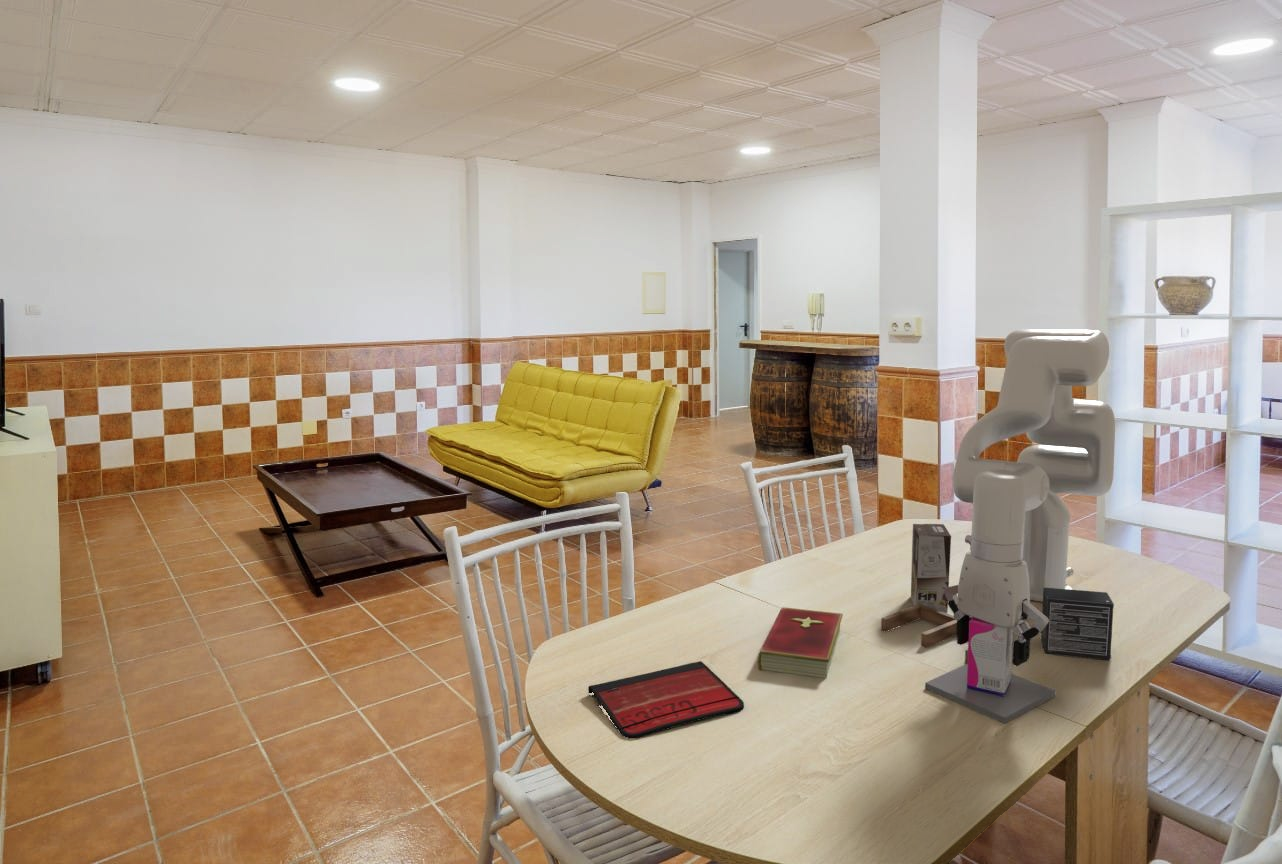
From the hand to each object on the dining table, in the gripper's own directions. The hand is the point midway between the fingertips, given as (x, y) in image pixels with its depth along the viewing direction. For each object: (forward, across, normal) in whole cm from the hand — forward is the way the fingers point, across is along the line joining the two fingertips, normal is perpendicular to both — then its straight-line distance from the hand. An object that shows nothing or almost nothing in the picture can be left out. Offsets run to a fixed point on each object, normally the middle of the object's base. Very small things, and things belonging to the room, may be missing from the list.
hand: (991, 652), depth 132 cm
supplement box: (+6, 0, 0) cm, 6 cm away
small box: (+7, 0, +26) cm, 27 cm away
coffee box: (+7, -29, +24) cm, 38 cm away
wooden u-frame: (+7, -17, +11) cm, 21 cm away
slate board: (+7, 0, 0) cm, 7 cm away
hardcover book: (+7, -30, -12) cm, 33 cm away
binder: (+8, -29, -43) cm, 53 cm away
